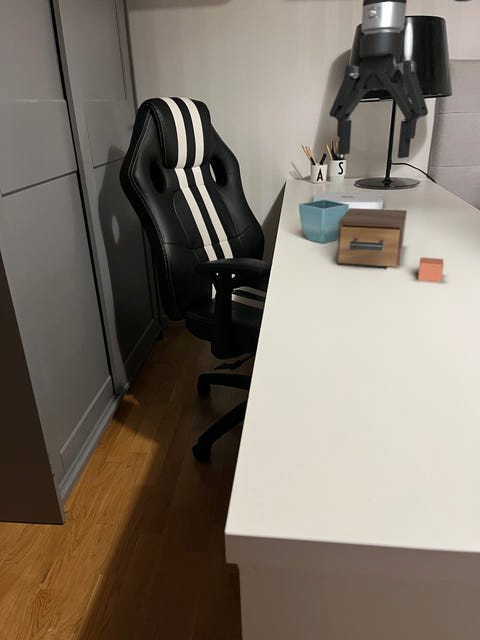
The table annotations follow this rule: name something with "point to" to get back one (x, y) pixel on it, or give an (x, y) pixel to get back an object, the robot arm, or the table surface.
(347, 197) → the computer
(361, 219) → the cabinet
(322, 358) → the table surface
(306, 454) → the table surface
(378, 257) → the drawer
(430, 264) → the block
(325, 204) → the flower pot
